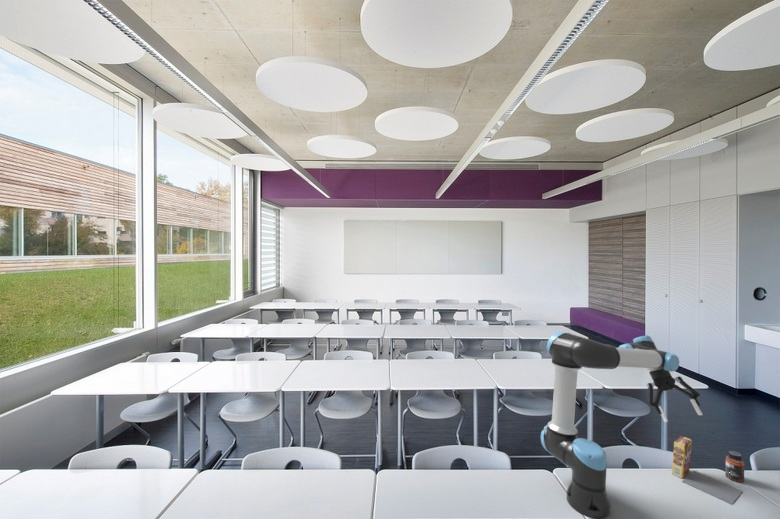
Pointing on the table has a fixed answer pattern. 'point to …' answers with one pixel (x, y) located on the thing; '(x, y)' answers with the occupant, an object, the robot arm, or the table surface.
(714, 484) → the felt pad
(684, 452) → the candy box
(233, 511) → the table surface
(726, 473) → the supplement bottle
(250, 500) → the table surface
